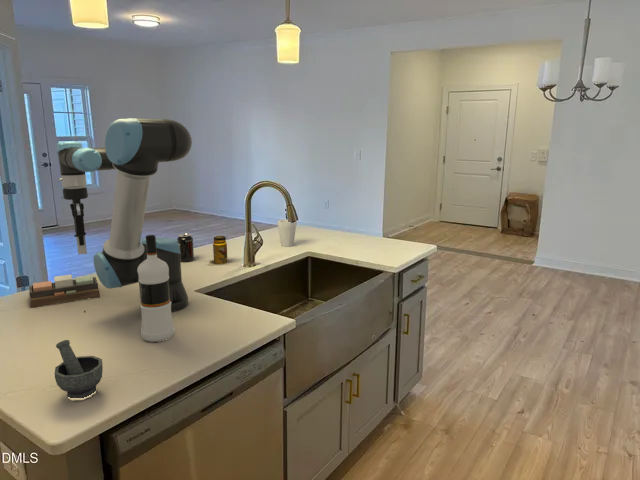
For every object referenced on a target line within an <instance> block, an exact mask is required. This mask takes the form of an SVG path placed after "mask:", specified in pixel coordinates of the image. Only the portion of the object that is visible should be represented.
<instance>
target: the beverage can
mask: <svg viewBox="0 0 640 480" xmlns="http://www.w3.org/2000/svg"><path fill="white" fill-rule="evenodd" d="M176 241H177V242H178V243H179V248H180V252H181V254H180V261H181V262H182V263H188V262H189V263H190V262H192V261H193V260H194V258H195V253H194V238H193V236H192V234H191V233H180V234H178V237H177V239H176Z"/></svg>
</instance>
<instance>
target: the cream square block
mask: <svg viewBox="0 0 640 480" xmlns="http://www.w3.org/2000/svg"><path fill="white" fill-rule="evenodd" d="M53 279H54V280H53V281H54V282H55V288H56V289H57V288H64V287H71V286H73V280H74V279H73V275H72V274H65V275H57V276H53Z"/></svg>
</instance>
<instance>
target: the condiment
mask: <svg viewBox="0 0 640 480" xmlns="http://www.w3.org/2000/svg"><path fill="white" fill-rule="evenodd" d="M212 252H213V259H211V260H209V263H208V266H226V265H229V259H228V244H227V237H226V236H225V235H216V236H214V237H213V243H212Z"/></svg>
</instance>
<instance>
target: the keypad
mask: <svg viewBox="0 0 640 480" xmlns="http://www.w3.org/2000/svg"><path fill="white" fill-rule="evenodd" d="M92 278H93V282H94V283H92V284H85V285H78V286H76V282H75V279H73V286H71V287H64V288H57V289H56V288H55V281H54V282H52V289H50V290H43V291H36V292H34V291H33V285H29V290H28V291H29V292H28V293H29V294H28V295H29V303H30V309H31V308H32V307H33V308H38V306H40V307H45V305H46V306H50V305H51V304H52V305H57V303H59V304H64V303H63V302H65V303H70V301H71V302H75V301H76V300H78V301H83V299H84V300H89V299H88V298H91V299H95V297H97V298H100V297H101V295H100V294H101V293H100V289H99V283H98V280H97V277H96V276H92ZM76 302H77V301H76ZM52 305H51V306H52Z"/></svg>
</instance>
